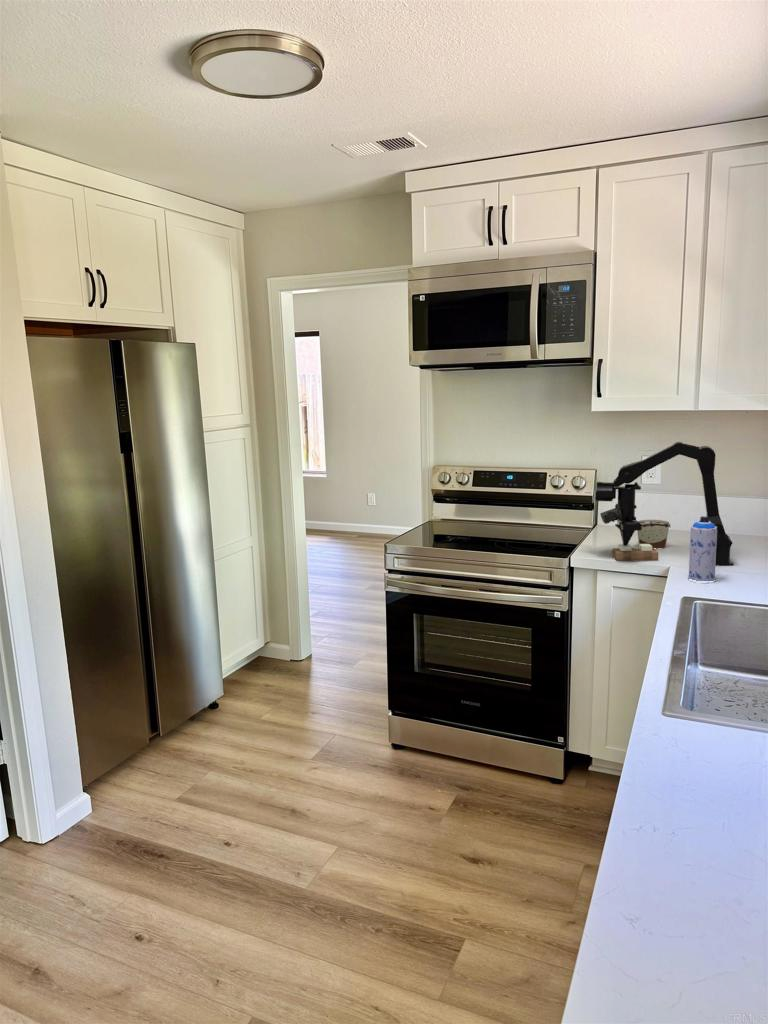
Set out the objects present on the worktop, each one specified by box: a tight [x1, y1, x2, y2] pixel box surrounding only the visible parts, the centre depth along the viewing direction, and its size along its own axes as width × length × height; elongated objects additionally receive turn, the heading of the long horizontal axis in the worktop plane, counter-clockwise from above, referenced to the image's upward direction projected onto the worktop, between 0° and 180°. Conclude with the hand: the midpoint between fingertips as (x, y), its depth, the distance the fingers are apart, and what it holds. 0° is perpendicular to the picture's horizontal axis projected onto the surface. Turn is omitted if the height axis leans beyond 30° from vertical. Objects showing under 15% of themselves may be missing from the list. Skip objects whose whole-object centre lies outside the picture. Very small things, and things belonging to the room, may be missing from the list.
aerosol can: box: [688, 516, 717, 581], centre depth 216 cm, size 8×8×20 cm
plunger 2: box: [638, 543, 652, 551], centre depth 246 cm, size 4×4×5 cm
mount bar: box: [611, 547, 660, 562], centre depth 246 cm, size 7×14×3 cm, turn 85°
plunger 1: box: [617, 543, 633, 551], centre depth 247 cm, size 4×4×5 cm
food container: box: [637, 519, 671, 550], centre depth 262 cm, size 12×6×10 cm, turn 84°
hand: (625, 545), depth 246 cm, fingers closed, pressing on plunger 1
